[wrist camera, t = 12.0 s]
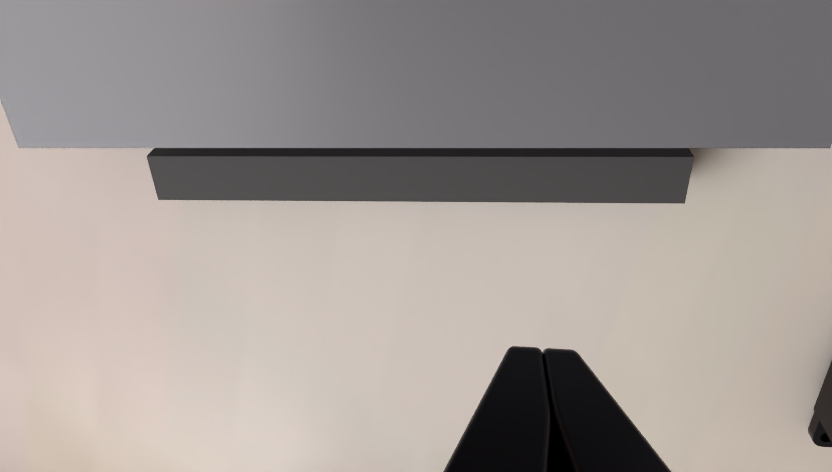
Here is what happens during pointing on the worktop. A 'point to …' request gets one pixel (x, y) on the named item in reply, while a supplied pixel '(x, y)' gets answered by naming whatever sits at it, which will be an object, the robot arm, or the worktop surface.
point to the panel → (417, 73)
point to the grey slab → (423, 174)
